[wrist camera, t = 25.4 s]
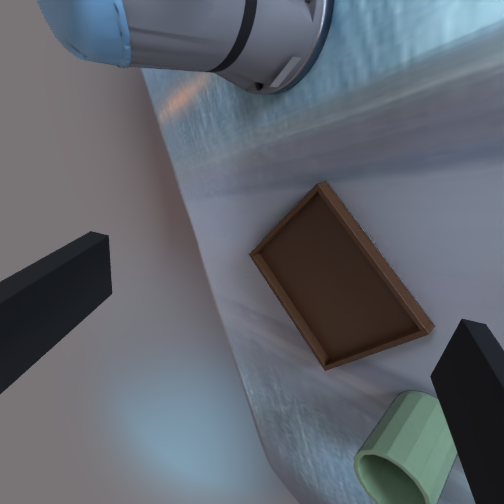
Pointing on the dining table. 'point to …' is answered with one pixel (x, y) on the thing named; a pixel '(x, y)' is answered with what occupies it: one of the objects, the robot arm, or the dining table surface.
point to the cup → (407, 452)
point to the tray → (337, 283)
